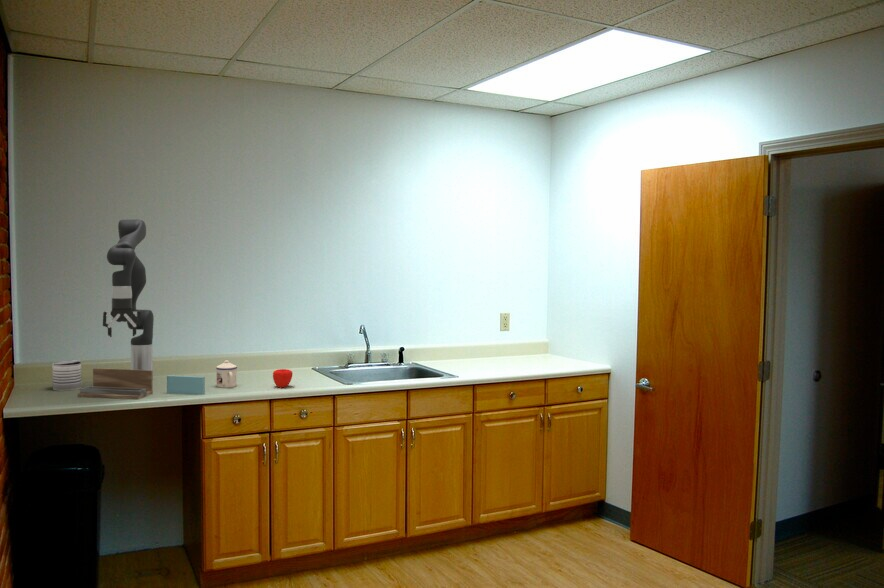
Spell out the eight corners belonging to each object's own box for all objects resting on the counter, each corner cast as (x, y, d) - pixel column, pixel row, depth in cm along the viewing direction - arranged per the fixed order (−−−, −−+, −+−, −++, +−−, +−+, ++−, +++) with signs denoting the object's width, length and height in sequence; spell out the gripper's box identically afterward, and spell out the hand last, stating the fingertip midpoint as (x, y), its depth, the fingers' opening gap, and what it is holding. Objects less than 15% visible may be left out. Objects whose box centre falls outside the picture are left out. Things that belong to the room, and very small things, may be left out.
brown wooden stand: (94, 391, 302) (94, 367, 301) (152, 393, 299) (152, 370, 299) (77, 396, 290) (77, 372, 289) (137, 399, 287) (137, 375, 287)
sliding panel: (169, 392, 303) (169, 375, 303) (204, 394, 302) (204, 376, 301) (166, 393, 301) (166, 376, 301) (202, 394, 300) (202, 377, 299)
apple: (295, 387, 319) (295, 370, 319) (276, 389, 315) (276, 371, 314) (288, 384, 327) (289, 367, 326) (270, 385, 322) (270, 368, 322)
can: (67, 391, 300) (66, 363, 299) (45, 389, 303) (45, 361, 302) (87, 386, 311) (87, 359, 310) (67, 385, 314) (67, 358, 313)
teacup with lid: (213, 385, 321) (213, 359, 320) (233, 383, 326) (233, 358, 325) (221, 389, 311) (221, 363, 310) (241, 388, 316) (241, 362, 315)
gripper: (140, 296, 293) (140, 334, 294) (102, 296, 287) (102, 335, 288) (141, 297, 286) (141, 337, 287) (102, 297, 280) (102, 338, 281)
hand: (122, 336), depth 288 cm, fingers open, 8 cm apart
